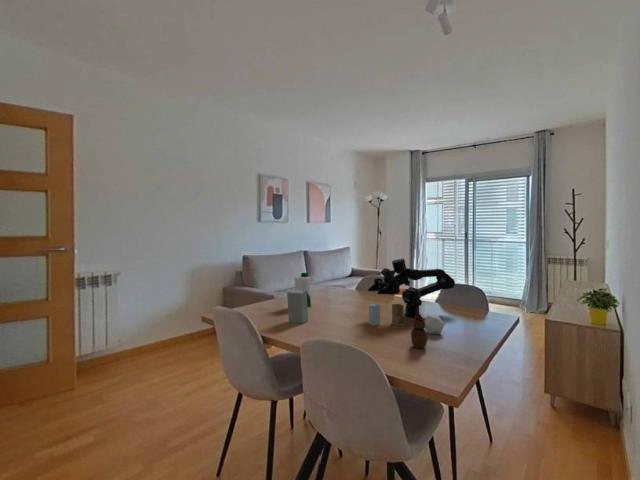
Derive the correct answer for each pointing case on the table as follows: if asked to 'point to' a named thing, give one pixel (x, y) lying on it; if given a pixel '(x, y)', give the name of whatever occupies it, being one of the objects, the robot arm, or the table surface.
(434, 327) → the die
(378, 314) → the blue-grey block
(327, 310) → the table surface
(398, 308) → the walnut block
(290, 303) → the skincare box
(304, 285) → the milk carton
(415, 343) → the wooden figurine
